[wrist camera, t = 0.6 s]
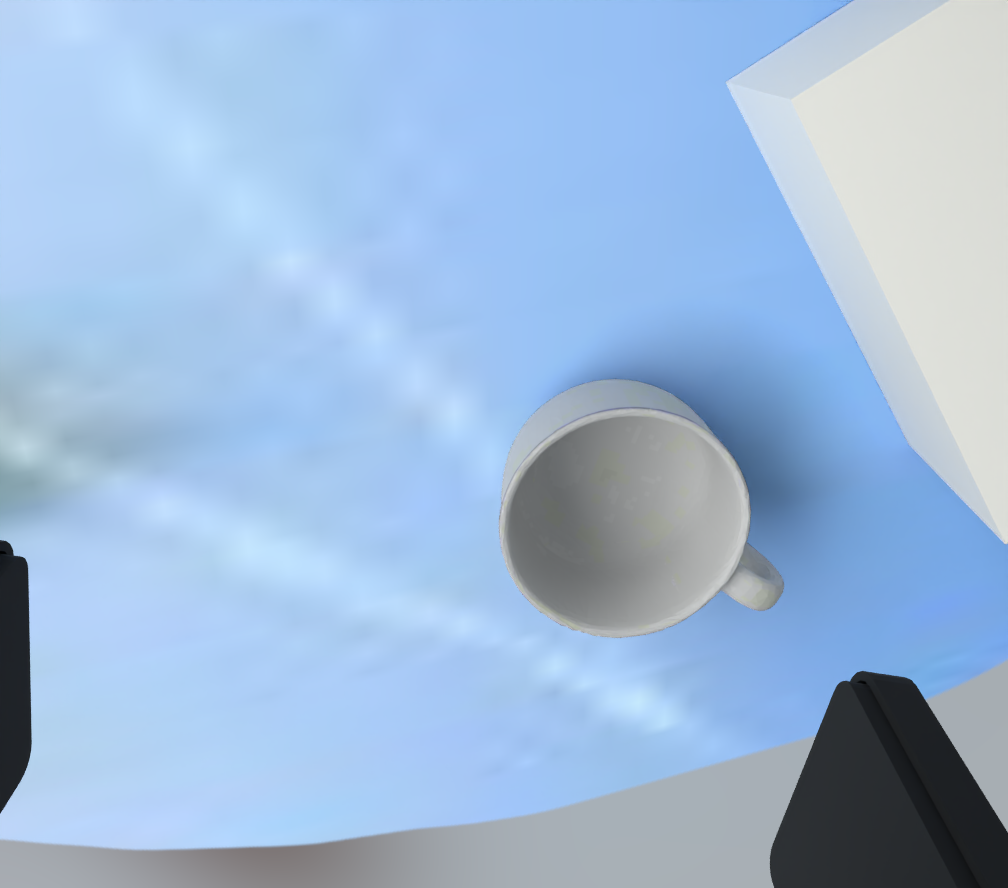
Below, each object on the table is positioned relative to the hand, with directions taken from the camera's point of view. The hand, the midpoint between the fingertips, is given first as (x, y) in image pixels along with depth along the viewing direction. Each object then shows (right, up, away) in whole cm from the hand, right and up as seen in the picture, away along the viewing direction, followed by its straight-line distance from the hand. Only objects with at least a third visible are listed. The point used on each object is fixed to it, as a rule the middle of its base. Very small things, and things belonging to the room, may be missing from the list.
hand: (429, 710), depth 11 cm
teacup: (+7, +2, +38) cm, 38 cm away
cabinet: (+20, +13, +32) cm, 40 cm away
